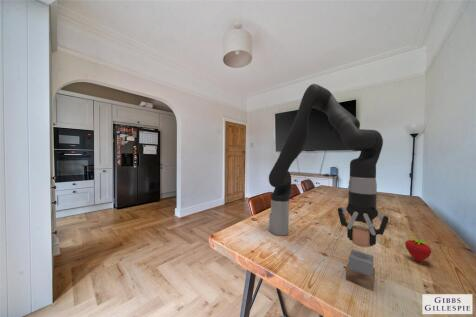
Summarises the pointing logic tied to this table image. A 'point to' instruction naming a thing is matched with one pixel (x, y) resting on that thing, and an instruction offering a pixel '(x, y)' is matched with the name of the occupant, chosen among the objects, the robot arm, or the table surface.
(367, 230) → the terracotta cylinder
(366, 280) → the tower base
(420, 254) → the strawberry
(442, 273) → the table surface
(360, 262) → the tower middle
